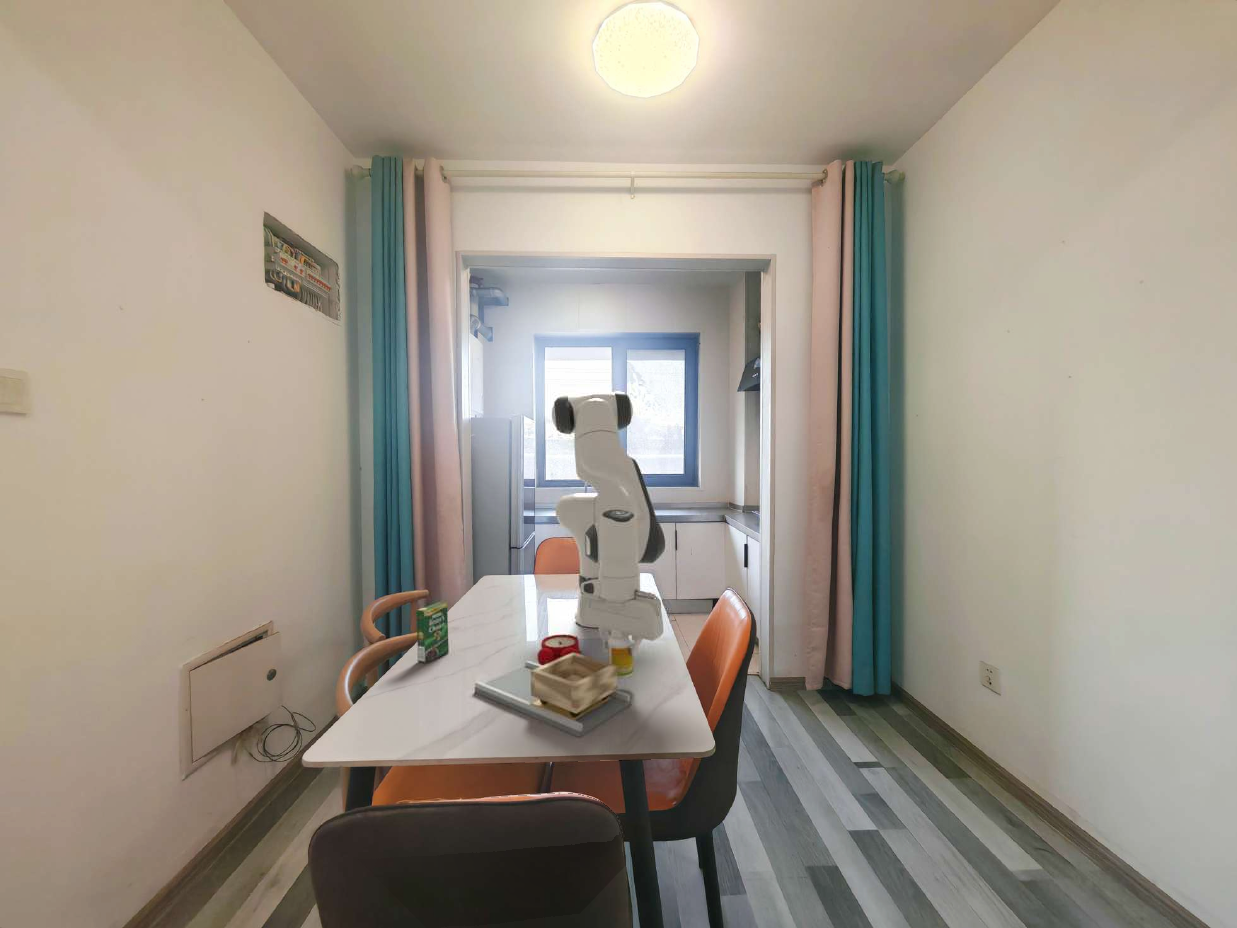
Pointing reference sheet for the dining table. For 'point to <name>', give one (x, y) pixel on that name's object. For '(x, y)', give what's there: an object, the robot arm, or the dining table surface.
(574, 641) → the alarm clock
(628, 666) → the supplement bottle
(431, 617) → the coffee box
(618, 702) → the track board
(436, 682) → the dining table surface
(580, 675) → the open wooden crate
